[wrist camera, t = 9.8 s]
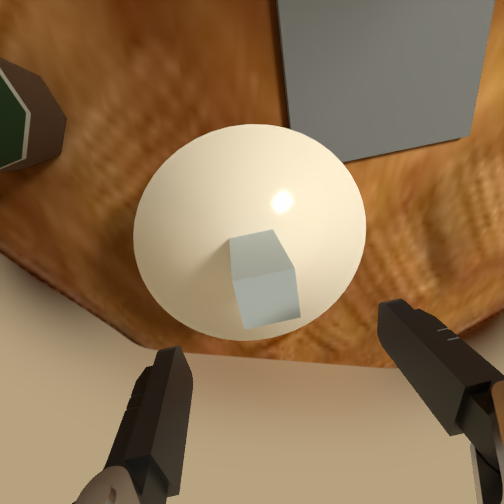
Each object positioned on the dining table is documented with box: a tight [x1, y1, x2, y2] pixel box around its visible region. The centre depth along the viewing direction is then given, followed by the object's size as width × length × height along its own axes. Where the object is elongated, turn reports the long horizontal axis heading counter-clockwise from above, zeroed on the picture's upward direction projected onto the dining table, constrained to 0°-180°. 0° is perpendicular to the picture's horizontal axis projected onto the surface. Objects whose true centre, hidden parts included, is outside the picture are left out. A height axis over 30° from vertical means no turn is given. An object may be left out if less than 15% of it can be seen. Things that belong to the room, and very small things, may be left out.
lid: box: [133, 124, 366, 341], centre depth 15 cm, size 16×16×6 cm
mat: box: [276, 0, 495, 162], centre depth 20 cm, size 17×17×1 cm
